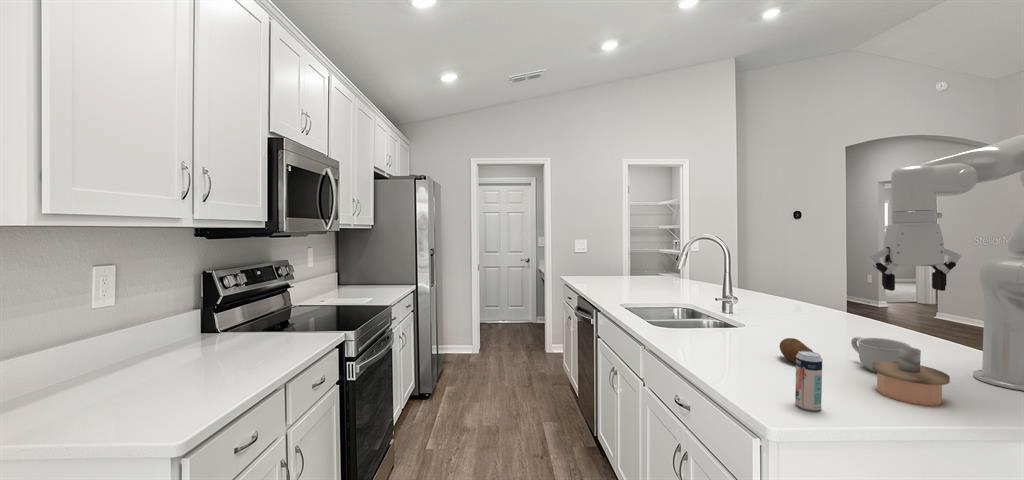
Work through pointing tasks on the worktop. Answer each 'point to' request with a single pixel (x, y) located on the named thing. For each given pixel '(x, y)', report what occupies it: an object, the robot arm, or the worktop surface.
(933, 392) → the bowl
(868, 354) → the teacup
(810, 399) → the beer can
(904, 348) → the lid
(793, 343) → the potato
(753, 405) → the worktop surface
